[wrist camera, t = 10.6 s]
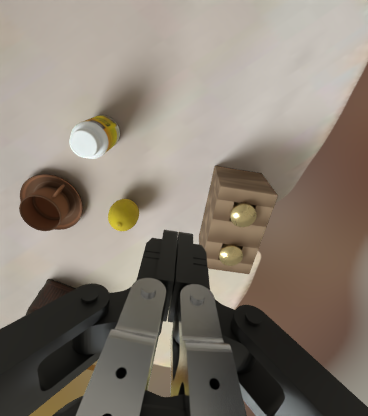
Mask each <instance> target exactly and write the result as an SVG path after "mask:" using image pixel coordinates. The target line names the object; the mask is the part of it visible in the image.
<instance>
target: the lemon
mask: <svg viewBox="0 0 368 416" xmlns="http://www.w3.org/2000/svg"><path fill="white" fill-rule="evenodd" d="M138 218H139V209H138V207H137V205H136V204H135V203H134V202H133V201H131V200H129V199H121V200H118V201H116V202H115V203H114V204H113V205H112V206H111V208H110V210H109V214H108V220H109V223H110V225H111V226H112V227H113V228H114V229H116V230H118V231H127V230H129V229H131V228H132V227H133V226H134V225H135V224H136V222H137V220H138Z"/></svg>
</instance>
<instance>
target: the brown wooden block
mask: <svg viewBox="0 0 368 416" xmlns="http://www.w3.org/2000/svg"><path fill="white" fill-rule="evenodd" d="M277 197H278V195H277V194H276V192H275V191H274V189H273V188H272V187H271V185H270V184H269V183H268V181H267V180H266V179H265V177H264V176H263V175H262V173H256V172H250V171H244V170H237V169H231V168H225V167H219V166H215V167H214V172H213V176H212V181H211V185H210V190H209V194H208V198H207V203H206V207H205V212H204V216H203V221H202V225H201V229H200V234H199V245H202V246H203V248H204V249H205V251H206V254H207V265H208V266H207V267H208V268H209V269H216V270H223V271H230V272H237V273H244V274H249V273H250V270H251V268H252V265H253V262H254V259H255V257H256V254H257V251H258V249H259V246H260V243H261V240H262V238H263V235H264V232H265V229H266V227H267V224H268V221H269V219H270V216H271V213H272V210H273V208H274V205H275V202H276V199H277ZM234 202H238V203H248V204H251V205H252V206H253V207H254V209H255V211H256V215H257V216H256V220H255V221H254V223H253V224H251V225H250V226H247V227H238V226H236V225H234V224H233V223H232V221H231V218H230V212H231V210H232V208H233V205H234ZM222 244H233V245H237V246H238V247H240V248H241V250H242V253H243V258H242V260H241V262H240V263H238V264H237V265H234V266H227V265H224V264H223V263H222V262H221V261H220V258H219V251H220V250H221V247H222Z"/></svg>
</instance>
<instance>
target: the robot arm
mask: <svg viewBox="0 0 368 416" xmlns="http://www.w3.org/2000/svg"><path fill="white" fill-rule="evenodd" d="M177 236H178V239H177ZM207 266H208V265H207V254H206V251H205V249H204V248H203V246H202V245H198V244H193V234H190V233H183V232H179V234H178V232H176V231H169V230H164V232H163V238H162V239H156V238H152V239H151V240H149V241H148V242H147V243H146V247H145V251H144V254H143V258H142V262H141V266H140V270H139V273H138V277H137V280H136V282H135V283H134V284H133V285H132V287H130V288H129V289H127V290H124V291H121V292H114V293H109V292H108V290H107V289H106V288H105V287H103V286H101V285H98V284H86V285H83V286H80V287H78V288H76V289H75V290H73V291H71V292H69V293H67V294H65V295H63V296H62V297H60V298H58V299H56V300H54V301H52V302H50V303H48V304H47V305H45V306H43V307H41V308H39V309H37V310H35V311H34V312H32V313H30V314H28V315H26V316H24V317H22V318H20V319H19V320H17V321H15V322H13V323H11V324H9V325H7V326H5V327H4V328H2V329H0V416H29V415H30V414H31V413H33V412H34V411H35V410H36V409H38V408H39V407H40V406H41V405H42V404H44V403H45V402H46V401H47V400H49V399H50V398H51V397H52V396H54V395H55V394H56V393H57V392H59V391H60V390H61V389H62V388H64V387H65V386H66V385H67V384H68V383H70V382H71V381H72V380H73V379H75V378H76V377H77V376H78V375H80V374H81V373H82V372H83V371H84V370H86V369H87V368H88V367H89V366H91V365H92V364H93V363H94V362H95V361H97V360H98V362H97V364H96V367H95V369H94V372H93V374H92V377H91V379H90V382H89V384H88V386H87V389H86V391H85V394H84V396H81V397H79V398H77V399H75V400H73V401H72V402H70V403H68V404H67V405H65V406H64V407H63V408H61V409H60V410H58V412H56V413H55V414H54V415H53V416H247V415H246V411H245V406H244V402H243V400H244V401H245V403H246V404H247V405H248V406H249V408H250V409H251V410H252V412H253V413H254V414H255V415H256V416H368V407H367V406H366V405H365V404H364V403H363V402H361V401H360V400H359V399H358V398H357V397H356V396H355V395H354V394H353V393H352V392H350V391H349V390H348V389H347V388H346V387H345V386H344V385H343V384H342V383H341V382H339V381H338V380H337V379H336V378H335V377H334V376H333V375H332V374H331V373H330V372H329V371H327V370H326V369H325V368H324V367H323V366H322V365H321V364H320V363H319V362H318V361H316V360H315V359H314V358H313V357H312V356H311V355H310V354H309V353H308V352H307V351H305V350H304V349H303V348H302V347H301V346H300V345H299V344H297V342H296V341H294V340H293V339H292V338H291V337H290V336H289V335H288V334H287V333H286V332H284V330H282V329H281V328H280V327H279V326H278V325H277V324H276V323H275V322H274V321H272V320H271V319H270V318H269V317H268V316H267V315H266V314H265V313H264V312H263V311H261V310H260V309H258V308H256V307H254V306H250V305H242V306H239V307H238V308H237V309H236V310H233V309H231V308H229V307H226V306H224V305H222V304H220V303H219V302H218V301H216V300H215V298H214V295H213V294H212V292H211V291H210V286H209V275H208V267H207ZM168 310H169V314H168ZM167 315H168V322H173V331H172V335H171V393H170V397H161V396H159V395H156V394H154V393H152V392H149V391H148V386H149V381H150V375H151V371H152V365H153V361H154V356H155V351H156V347H157V342H158V337H159V335H160V333H161V329H162V323H163V321H166V320H167Z"/></svg>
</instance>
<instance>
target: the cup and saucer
mask: <svg viewBox="0 0 368 416" xmlns="http://www.w3.org/2000/svg"><path fill="white" fill-rule="evenodd" d="M20 200H21V203H20V207H19V210H20V214H21V217H22V218H23V220H24V221H25V222H26V223H27V224H28V225H29V226H31V227H32V228H34V229H37V230H41V231H50V230H53V229H57V230H60V229H67V228H70V227H72V226H73V225H75V224H76V223H77V222H78V221H79V219H80V217H81V214H82V209H83V207H82V201H81V198H80V196H79V194H78V192H77V191H76V190H75V188H74V187H73V186H72V185H71V184H69V183H68V182H67V181H65V180H63V179H62V178H59V177H57V176H53V175H46V174H43V175H37V176H33V177H31V178H29V179H28V180H27V181H26V182H25V183H24V184H23V186H22V188H21V191H20Z"/></svg>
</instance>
